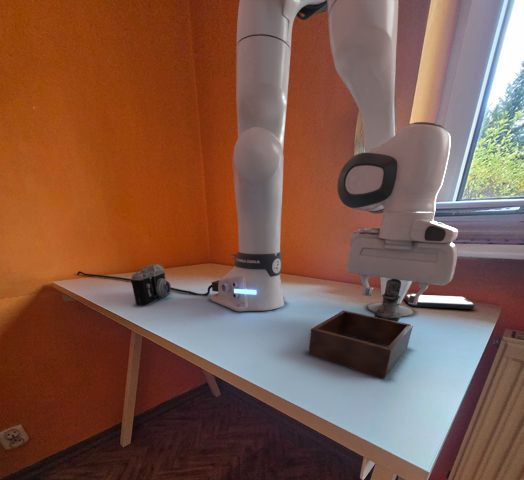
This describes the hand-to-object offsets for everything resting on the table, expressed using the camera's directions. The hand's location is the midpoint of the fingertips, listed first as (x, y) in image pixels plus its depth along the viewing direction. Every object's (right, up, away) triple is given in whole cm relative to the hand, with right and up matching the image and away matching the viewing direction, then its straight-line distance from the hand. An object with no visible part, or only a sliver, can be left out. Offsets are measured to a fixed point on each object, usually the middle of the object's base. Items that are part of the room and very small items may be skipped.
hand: (388, 299), depth 59 cm
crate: (-9, -11, -7) cm, 16 cm away
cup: (+7, 0, +15) cm, 17 cm away
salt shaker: (0, -6, +3) cm, 7 cm away
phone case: (+23, +2, +20) cm, 31 cm away
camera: (-59, +4, +24) cm, 64 cm away
